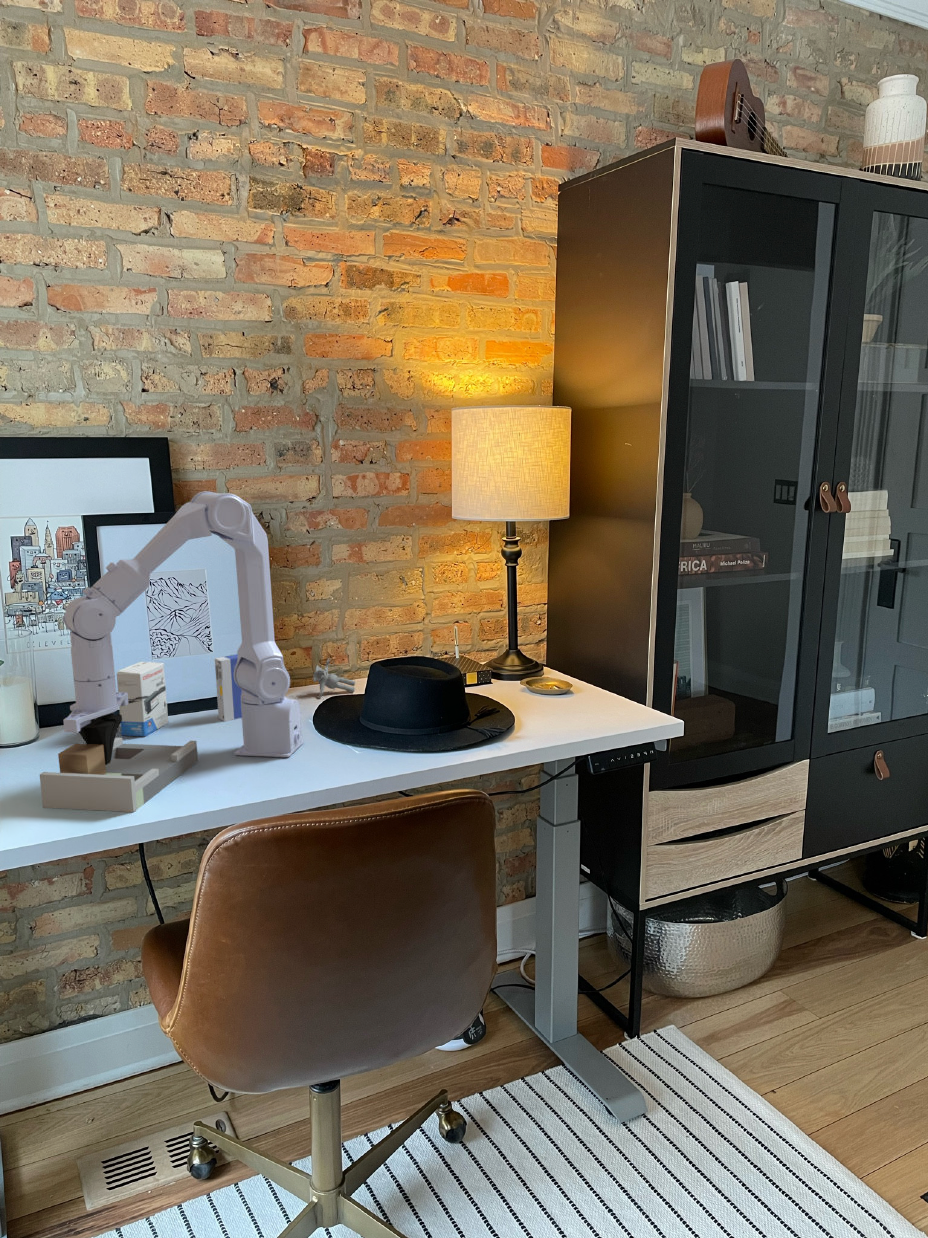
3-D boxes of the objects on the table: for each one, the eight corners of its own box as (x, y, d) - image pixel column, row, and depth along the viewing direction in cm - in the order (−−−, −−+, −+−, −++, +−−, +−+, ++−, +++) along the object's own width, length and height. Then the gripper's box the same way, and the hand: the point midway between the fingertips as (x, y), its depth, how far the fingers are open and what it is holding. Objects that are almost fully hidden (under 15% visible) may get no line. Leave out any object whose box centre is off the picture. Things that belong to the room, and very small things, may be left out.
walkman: (253, 709, 179) (250, 649, 177) (261, 712, 177) (257, 652, 175) (216, 718, 174) (212, 656, 172) (224, 721, 172) (220, 659, 170)
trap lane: (197, 761, 151) (195, 732, 150) (133, 812, 131) (130, 778, 130) (118, 757, 153) (115, 729, 152) (43, 807, 133) (39, 774, 132)
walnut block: (106, 773, 139) (103, 744, 138) (89, 784, 135) (86, 755, 134) (78, 771, 140) (75, 743, 139) (61, 782, 135) (58, 753, 135)
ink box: (145, 737, 164) (139, 673, 161) (120, 736, 165) (114, 672, 162) (169, 723, 172) (165, 661, 170) (145, 721, 173) (140, 660, 171)
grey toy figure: (355, 700, 186) (312, 687, 183) (346, 715, 190) (304, 702, 188) (362, 660, 192) (320, 648, 190) (353, 675, 197) (312, 663, 194)
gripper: (95, 664, 146) (103, 746, 148) (40, 689, 132) (50, 779, 134) (137, 665, 145) (144, 748, 147) (86, 690, 130) (94, 781, 133)
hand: (102, 763), depth 141 cm, fingers closed
